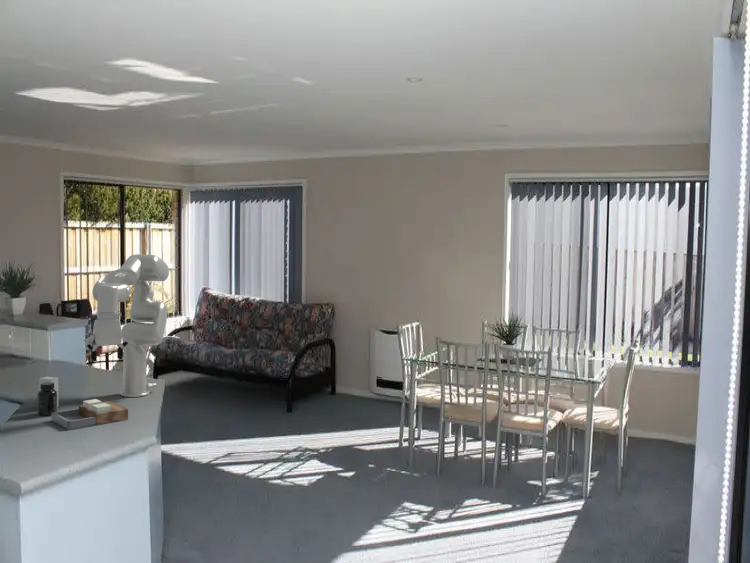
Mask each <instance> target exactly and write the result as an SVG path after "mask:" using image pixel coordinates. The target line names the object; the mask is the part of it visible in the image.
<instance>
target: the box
mask: <svg viewBox="0 0 750 563" xmlns="http://www.w3.org/2000/svg"><path fill="white" fill-rule="evenodd" d="M51 421H52V422H53V423H56V424H57V425H59V426H60V425H61V426H60V427H62V428H64V429H65V428H66V430H67V431H71V430H76V429H83V428H88V427H87V426H89V427H93V425H94V426H97V425H96V417H89V418H84V417H82V416H80V415H79V407H78V408H73V409H67V410H61V411H57V412H52V416H51ZM82 427H83V428H82Z"/></svg>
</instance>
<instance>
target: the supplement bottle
mask: <svg viewBox="0 0 750 563" xmlns="http://www.w3.org/2000/svg"><path fill="white" fill-rule="evenodd" d="M54 388H55V386H54V383H53V382H46V383H41V384H40V389H41V390H40V391H39V390H38V392H37V400H36V402H37V403H36V404H37V407H36V408H37V409H36V410H37V411H36V412H37V416H39V417H52V412H58V407H57V391H56V390H55V389H54Z"/></svg>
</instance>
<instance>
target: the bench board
mask: <svg viewBox="0 0 750 563" xmlns="http://www.w3.org/2000/svg"><path fill="white" fill-rule="evenodd" d="M102 403H106V404H108V405H110V406H111V411H107V412H101V413H96V412H94V411H92V408H90V409H88V408H86V407H84V406H83V404H82V405H81V404H80V405H79V406H78V408H79V415H80V416H82V417H84V418H89V417H96V425H95V426H99V425H98V424H100V425H105V424H109V423H117V422H121V421H122V422H123V421H127V420H129V408H126V407H124V406H122V405H120V404H118V403H115V402H112V401H111V400H107V401H102ZM104 423H105V424H104Z"/></svg>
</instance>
